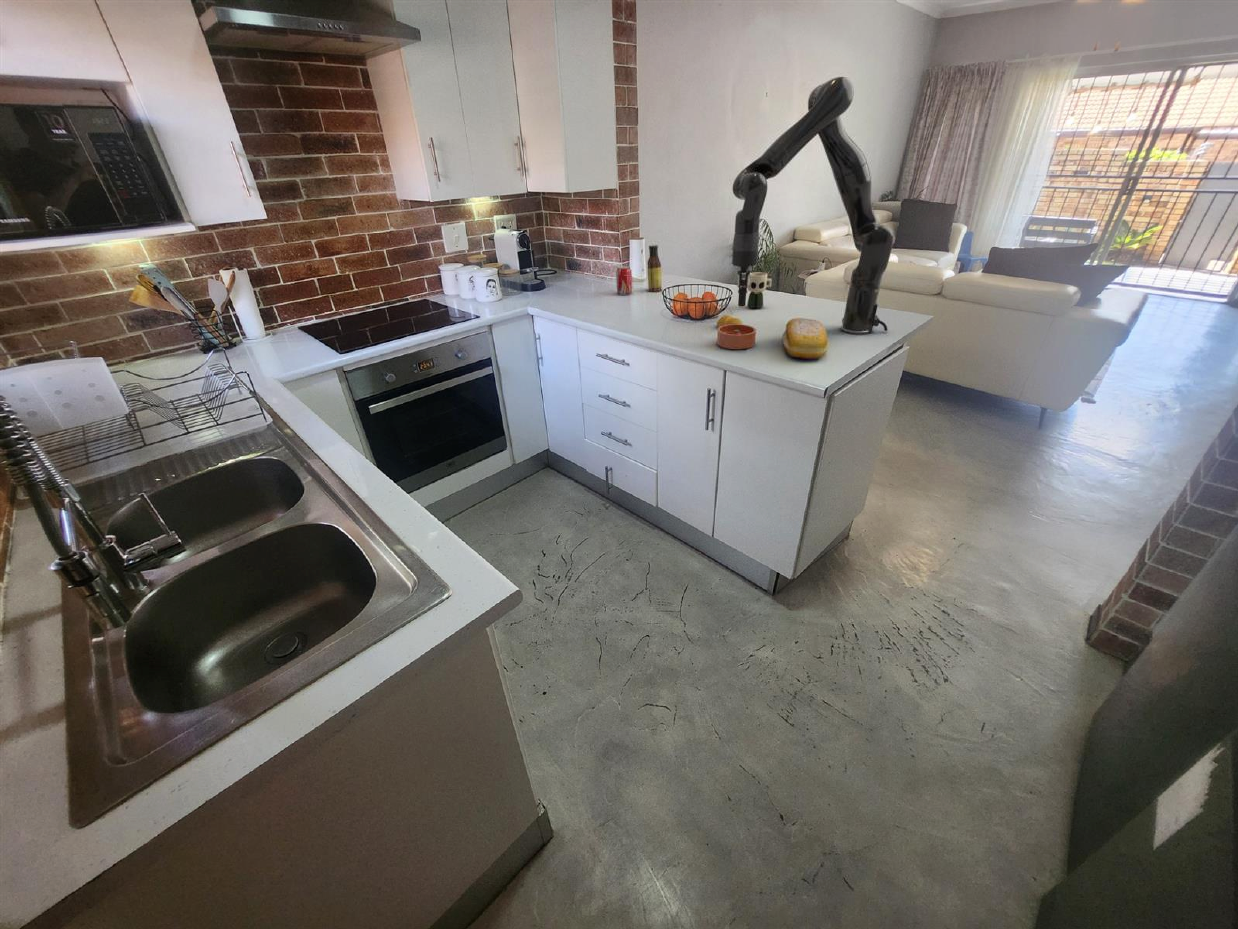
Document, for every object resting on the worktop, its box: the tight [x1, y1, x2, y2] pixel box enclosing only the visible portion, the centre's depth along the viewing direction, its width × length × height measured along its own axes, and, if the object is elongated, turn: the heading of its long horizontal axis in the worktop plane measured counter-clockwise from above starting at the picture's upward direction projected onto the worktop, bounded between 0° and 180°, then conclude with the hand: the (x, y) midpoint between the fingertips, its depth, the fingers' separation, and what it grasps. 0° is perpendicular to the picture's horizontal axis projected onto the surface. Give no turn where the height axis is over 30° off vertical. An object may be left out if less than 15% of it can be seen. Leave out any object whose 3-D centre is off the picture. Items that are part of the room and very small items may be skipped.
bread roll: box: [716, 315, 743, 328], centre depth 183 cm, size 8×9×4 cm
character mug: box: [746, 271, 773, 309], centre depth 201 cm, size 11×7×13 cm, turn 79°
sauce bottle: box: [647, 244, 663, 293], centre depth 233 cm, size 7×6×20 cm
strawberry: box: [731, 330, 741, 335], centre depth 166 cm, size 3×3×4 cm
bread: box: [782, 317, 829, 360], centre depth 159 cm, size 13×26×8 cm, turn 169°
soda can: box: [615, 265, 633, 296], centre depth 232 cm, size 7×7×12 cm
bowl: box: [716, 323, 757, 350], centre depth 166 cm, size 12×12×5 cm
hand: (741, 302), depth 161 cm, fingers open, 8 cm apart
